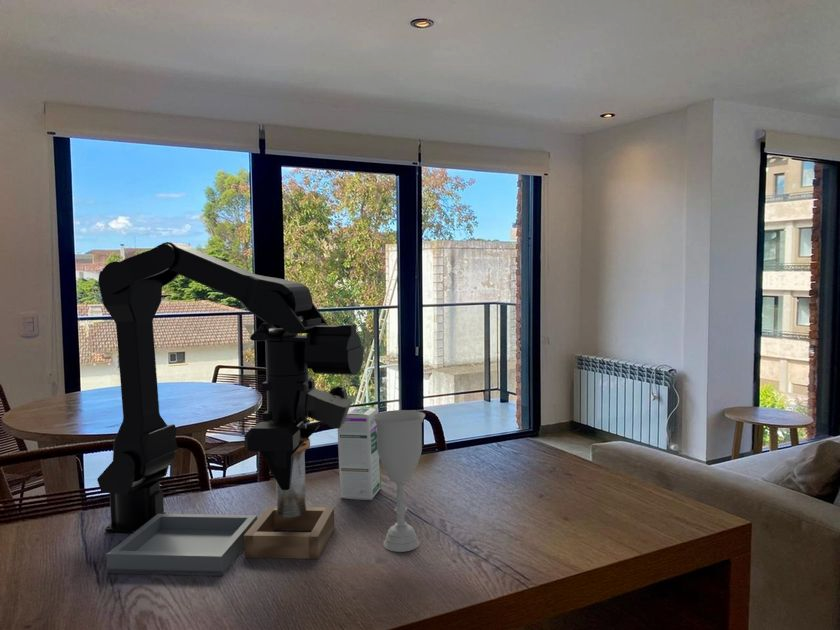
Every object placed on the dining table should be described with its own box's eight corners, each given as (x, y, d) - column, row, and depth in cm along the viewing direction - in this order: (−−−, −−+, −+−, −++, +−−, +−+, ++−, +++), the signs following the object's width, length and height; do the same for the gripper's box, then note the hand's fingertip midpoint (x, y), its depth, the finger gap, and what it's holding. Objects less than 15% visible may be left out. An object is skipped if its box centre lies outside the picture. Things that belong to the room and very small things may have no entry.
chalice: (387, 559, 79) (384, 424, 78) (367, 539, 85) (364, 414, 84) (436, 547, 83) (434, 417, 81) (413, 529, 89) (411, 408, 87)
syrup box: (372, 500, 100) (370, 414, 99) (338, 498, 101) (336, 413, 100) (381, 488, 106) (380, 406, 105) (349, 486, 107) (347, 405, 106)
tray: (107, 573, 77) (106, 554, 76) (158, 530, 90) (158, 513, 89) (222, 575, 76) (221, 556, 75) (257, 531, 88) (257, 515, 88)
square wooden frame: (244, 557, 80) (243, 535, 80) (268, 526, 90) (268, 506, 90) (318, 558, 80) (317, 536, 80) (334, 527, 90) (334, 507, 89)
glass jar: (265, 519, 82) (263, 447, 82) (278, 503, 88) (276, 436, 87) (306, 520, 82) (304, 447, 81) (316, 504, 87) (314, 436, 87)
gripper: (330, 385, 74) (333, 510, 75) (357, 362, 92) (359, 463, 93) (240, 385, 74) (245, 509, 75) (285, 363, 93) (288, 462, 94)
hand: (290, 483), depth 85 cm, fingers closed on glass jar, 5 cm apart
